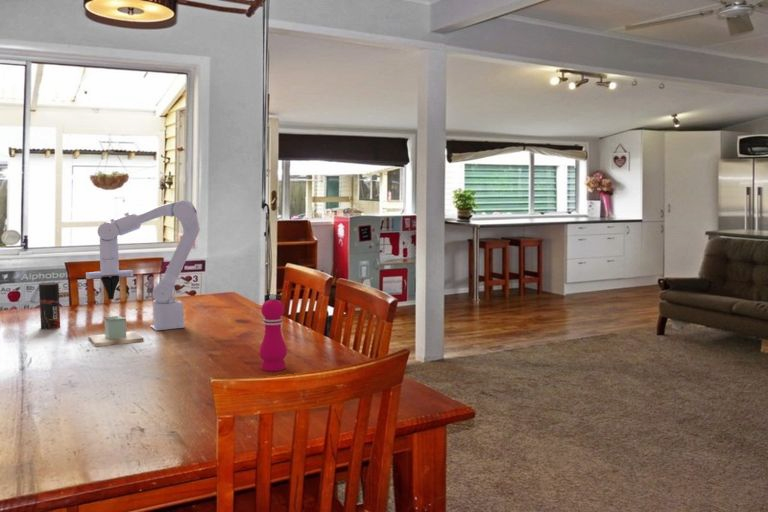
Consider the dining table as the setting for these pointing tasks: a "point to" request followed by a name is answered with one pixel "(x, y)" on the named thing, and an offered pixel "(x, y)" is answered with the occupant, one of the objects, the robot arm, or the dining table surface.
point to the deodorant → (49, 305)
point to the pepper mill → (272, 336)
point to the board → (102, 340)
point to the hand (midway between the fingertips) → (110, 298)
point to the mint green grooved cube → (115, 327)
